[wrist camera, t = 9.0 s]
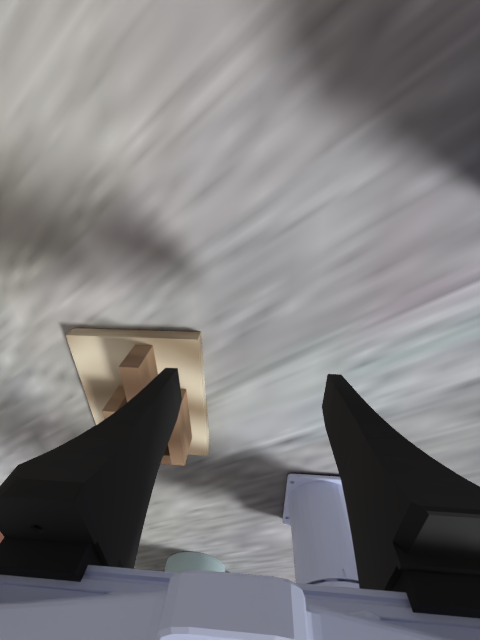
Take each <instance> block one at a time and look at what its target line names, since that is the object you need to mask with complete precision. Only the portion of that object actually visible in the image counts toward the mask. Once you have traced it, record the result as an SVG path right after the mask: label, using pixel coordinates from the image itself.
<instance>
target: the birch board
mask: <svg viewBox="0 0 480 640" xmlns="http://www.w3.org/2000/svg"><path fill="white" fill-rule="evenodd" d="M66 338H67V341H68V344H69V347H70V350H71V353H72V356H73V359H74V362H75V365H76V368H77V370H78V373H79V376H80V379H81V382H82V385H83V388H84V391H85V394H86V397H87V400H88V403H89V406H90V408H91V411H92V414H93V417H94V420H95V423H96V425H97V424H99V423H100V422H102V421H103V420H104V417H103V414H102V410H103V408H104V407H105V405H106V404H107V402H108V401H109V399H110V398H111V396H112V395H113V393H114V392H115V390H116V389H117V387H118V386H123V383H122V380H121V376H120V372H119V368H118V367H119V365H120V364H121V363H122V361H123V360H124V359H125V357H126V356H127V355H128V353H129V352H130V351H131V349H132V348H133V347H134V345H153V349H154V354H155V360H156V366H157V372H158V374H159V373H160V372H161V371H163V370H164V369H165V368H178V374H179V381H180V389H186V390H187V398H188V407H189V415H190V423H191V431H192V440H191V444H190V448H189V451H188V455H205V456H208V453H209V447H210V442H209V429H208V417H207V404H206V392H205V380H204V367H203V355H202V342H201V332H185V331H153V330H121V329H89V328H74V329H72V330H71V331H70V332H69V333H67V334H66Z"/></svg>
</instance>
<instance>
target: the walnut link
mask: <svg viewBox="0 0 480 640" xmlns="http://www.w3.org/2000/svg"><path fill="white" fill-rule="evenodd" d="M118 368H119V372H120V376H121V380H122V383H123V386H118V387H117V389H116V390H115V392H114V393H113V395H112V396H111V398H110V399H109V401H108V402H107V404H106V405H105V407H104V408H103V410H102V414H103V417H104V420H105V419H106V418H108V417H109V416H110V415H112V414H113V413H115V412H116V411H117V410H119V409H120V408H121V407H122V406H124V405H125V404H126V403H127V402H128V401H130V400H131V399H132V398H133V397H134V396H136V395H137V394H138V393H139V392H140V391H141V390H142V389H143V388H144V387H146V386H147V385H148V384H149V383H150V382H151V381H152V380H153V379H154V378H155V377H156V376H157V375H158V372H157V366H156V360H155V354H154V349H153V345H134V347H133V348H132V349H131V351H130V352H129V353H128V355H127V356H126V357H125V359H124V360H123V361H122V363H121V364H120V365H119V367H118ZM181 396H182V402H181V406H180V411H179V415H178V418H177V421H176V424H175V427H174V429H173V432H172V435H171V437H170V440H169V442H168V445H167V447H166V450H165V453H164V455H163V458H162V460H161V463H160V464H169V465H185V463H186V459H187V455H188V451H189V448H190V444H191V440H192V431H191V423H190V415H189V407H188V398H187V390H186V389H181Z"/></svg>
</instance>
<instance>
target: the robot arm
mask: <svg viewBox="0 0 480 640" xmlns="http://www.w3.org/2000/svg"><path fill="white" fill-rule="evenodd" d="M181 402H182V396H181V389H180V381H179V374H178V368H165V369H164V370H163V371H161V372H160V373H159V374H158V375H157V376H156V377H155V378H154V379H153V380H152V381H151V382H150V383H149V384H148V385H147V386H146V387H144V388H143V389H142V390H141V391H140V392H139V393H138V394H137V395H136V396H134V397H133V398H132V399H131V400H130V401H128V402H127V403H126V404H125V405H124V406H122V407H121V408H120V409H119V410H117V411H116V412H115V413H113V414H112V415H110V416H109V417H108V418H106V419H105V420H103V421H102V422H100V423H99V424H97V425H96V426H94V427H92V428H91V429H89V430H87V431H86V432H84V433H83V434H81V435H79V436H78V437H76V438H74V439H72V440H70V441H68V442H67V443H65V444H63V445H61V446H59V447H57V448H55V449H53V450H51V451H49V452H47V453H45V454H42V455H40V456H38V457H36V458H33V459H31V460H29V461H27V462H24V463H22V464H20V465H18V466H17V467H16V468H15V469H14V470H13V472H12V473H11V474H10V475H9V476H8V477H7V479H6V480H5V481H4V482H3V483H2V485H1V486H0V532H1V533H2V534H3V536H4V539H3V540H2V542H1V543H0V640H480V487H479V486H477V485H476V484H474V483H472V482H470V481H468V480H467V479H465V478H463V477H461V476H460V475H458V474H456V473H455V472H453V471H452V470H450V469H448V468H447V467H445V466H444V465H442V464H441V463H439V462H438V461H436V460H435V459H433V458H432V457H430V456H429V455H427V454H426V453H424V452H423V451H422V450H420V449H419V448H417V447H416V446H415V445H413V444H412V443H411V442H409V441H408V440H407V439H406V438H404V437H403V436H402V435H401V434H400V433H398V432H397V431H396V430H395V429H393V428H392V427H391V426H390V425H389V424H388V423H387V422H386V421H385V420H383V419H382V418H381V417H380V416H379V415H378V414H377V413H376V412H375V411H374V410H373V409H372V408H371V407H370V406H369V405H368V404H367V403H366V402H365V401H364V400H363V399H362V398H361V396H360V395H359V394H358V393H357V392H356V391H355V390H354V389H353V388H352V386H351V385H350V384H349V383H348V382H347V381H346V380H345V379H344V377H343V376H342V375H336V374H328V376H327V382H326V387H325V393H324V398H323V404H322V409H323V416H324V422H325V427H326V431H327V434H328V437H329V441H330V444H331V448H332V451H333V454H334V458H335V461H336V464H337V468H338V471H339V475H340V477H337V476H321V475H305V474H289V475H288V477H287V485H286V493H285V502H284V510H283V518H282V520H283V523H284V524H288V525H291V531H292V543H293V555H294V567H295V579H296V583H293V582H291V581H290V580H288V579H283V578H278V577H274V576H263V575H251V574H240V573H228V572H216V571H205V570H186V571H182V572H180V573H176V572H164V571H153V570H141V569H134V564H135V560H136V555H137V551H138V546H139V542H140V538H141V533H142V529H143V525H144V521H145V517H146V513H147V509H148V505H149V501H150V497H151V493H152V490H153V486H154V483H155V479H156V476H157V472H158V469H159V466H160V463H161V460H162V458H163V455H164V453H165V450H166V447H167V445H168V442H169V440H170V437H171V435H172V432H173V429H174V427H175V424H176V421H177V418H178V415H179V411H180V406H181Z"/></svg>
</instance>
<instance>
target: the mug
mask: <svg viewBox="0 0 480 640" xmlns="http://www.w3.org/2000/svg"><path fill="white" fill-rule="evenodd" d="M186 570H205V571H216V572H225V566H224V565H223V564H222V562H220V561H219V560H218V559H216V558H214V557H212V556H210V555H207V554H203V553H198V552H180V553H176V554H174V555H172V556H170V557H169V558H168V559H167V562H166V566H165V570H164V572H176V573H180V572H182V571H186Z"/></svg>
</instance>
